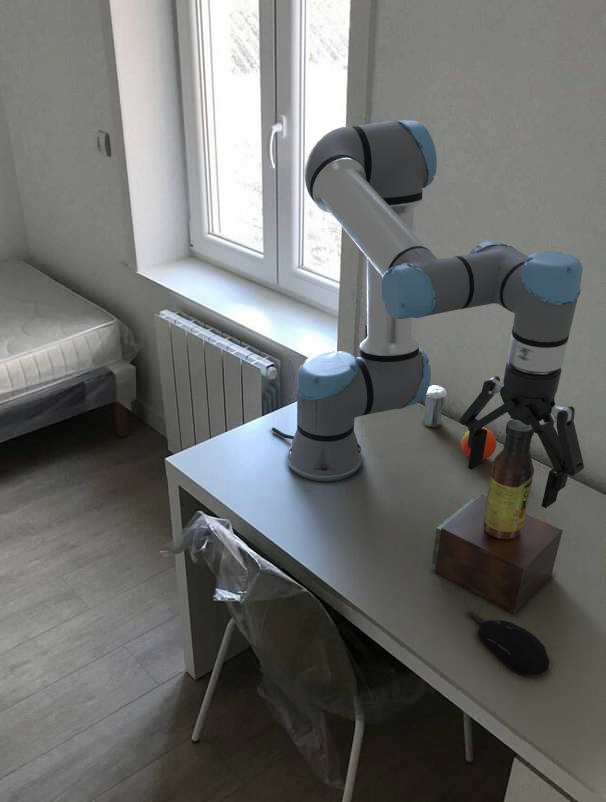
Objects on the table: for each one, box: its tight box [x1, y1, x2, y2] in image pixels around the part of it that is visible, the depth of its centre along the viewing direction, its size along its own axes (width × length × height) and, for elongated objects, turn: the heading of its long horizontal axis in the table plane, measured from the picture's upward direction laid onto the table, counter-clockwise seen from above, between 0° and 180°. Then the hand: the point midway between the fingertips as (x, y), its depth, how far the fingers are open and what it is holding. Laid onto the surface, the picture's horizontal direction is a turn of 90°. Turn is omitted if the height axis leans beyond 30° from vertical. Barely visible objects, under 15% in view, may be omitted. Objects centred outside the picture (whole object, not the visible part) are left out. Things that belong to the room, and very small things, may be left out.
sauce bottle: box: [484, 418, 535, 539], centre depth 123 cm, size 6×6×20 cm
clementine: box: [459, 427, 497, 461], centre depth 161 cm, size 8×7×7 cm
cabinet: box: [434, 494, 563, 614], centre depth 131 cm, size 15×13×10 cm
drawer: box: [431, 497, 477, 566], centre depth 133 cm, size 15×12×8 cm
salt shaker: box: [424, 384, 447, 428], centre depth 172 cm, size 4×5×10 cm
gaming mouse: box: [469, 613, 550, 676], centre depth 120 cm, size 6×15×4 cm, turn 29°
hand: (510, 484), depth 123 cm, fingers open, 13 cm apart
